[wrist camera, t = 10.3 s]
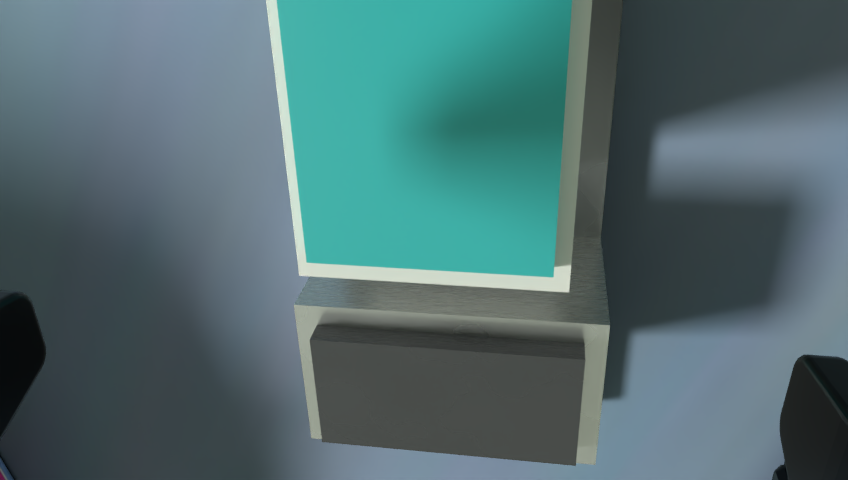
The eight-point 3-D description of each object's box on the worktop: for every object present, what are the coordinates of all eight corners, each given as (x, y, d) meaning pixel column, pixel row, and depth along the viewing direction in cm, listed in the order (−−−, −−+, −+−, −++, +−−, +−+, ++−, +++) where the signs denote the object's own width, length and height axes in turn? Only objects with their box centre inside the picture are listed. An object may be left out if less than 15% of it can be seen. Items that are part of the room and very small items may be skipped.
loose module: (592, -211, 15) (612, -244, 9) (565, 164, 18) (569, 303, 13) (347, -202, 15) (228, -227, 10) (369, 157, 19) (293, 285, 14)
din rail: (696, -846, 12) (802, -1379, 6) (581, 402, 23) (588, 557, 18) (267, -774, 13) (73, -1184, 8) (364, 385, 24) (314, 526, 19)
